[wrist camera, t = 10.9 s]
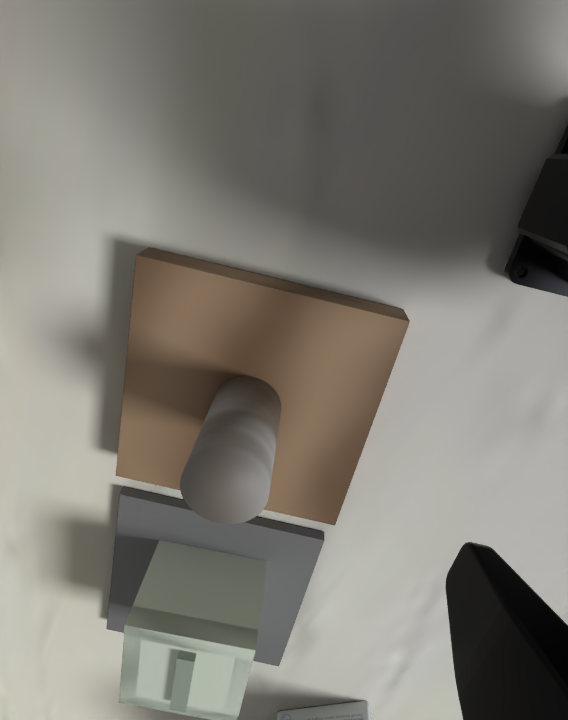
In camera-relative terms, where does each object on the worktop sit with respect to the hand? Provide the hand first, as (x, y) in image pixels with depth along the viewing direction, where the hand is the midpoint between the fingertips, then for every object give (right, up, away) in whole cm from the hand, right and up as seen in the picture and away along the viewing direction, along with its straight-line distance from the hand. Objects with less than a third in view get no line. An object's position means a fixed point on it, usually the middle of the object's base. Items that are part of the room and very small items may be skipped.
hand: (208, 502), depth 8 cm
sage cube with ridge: (-3, -11, +19) cm, 22 cm away
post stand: (0, +1, +14) cm, 14 cm away
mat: (-3, -10, +19) cm, 22 cm away
